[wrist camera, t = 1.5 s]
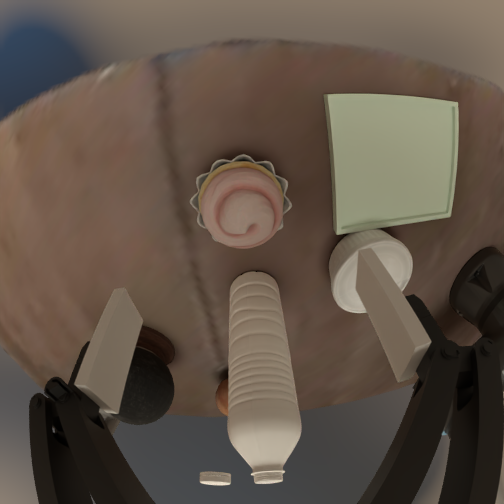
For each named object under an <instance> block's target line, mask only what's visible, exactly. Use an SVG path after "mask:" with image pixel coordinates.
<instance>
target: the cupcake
mask: <svg viewBox="0 0 504 504" xmlns="http://www.w3.org/2000/svg"><path fill="white" fill-rule="evenodd" d="M196 185H197V189H198V192H197V193H196V194H195V195H194V196H193V197H192V198H191V200H190V204H191V205H192V206H193V207H194V208H195V210H196V211H197V212H198V217H197V222H198V224H199V225H200V226H201V227H202V228H205V229H208V231H209V232H210V233H211V235H212V237H213V239H214V241H218V242H220V243H223V244H225V245H227V246H230V247H234V248H251V247H255V246H258V245H261V244H263V243H265V242H266V241H267V240H269V239H270V238H271V237H272V236H273V235H274V234H275V233H276V231H277V230H280V229H282V228H283V215H284V214H285V213H286V212H287V211H288V210H289V209H290V208H291V207H292V204H291V202H290V201H289V199H288V198H287V197H286V195H285V193H286V190H287V187H288V181H286V180H285V179H284V178H282V177H280V176H277V175H275V171H274V167H273V165H272V163H271V162H269V161H260V162H255V161H254V160H253V159H252V158H251V157H250V156H247V155H245V154H243V155H239V156H237V157H236V158H234V159H233V160H231V161H229V160H224V159H221V160H218V161H216V162H215V163H214V164H213V165H212V167H211V170H210V172H208V173H205V174H202V175H200V176H199V177H197V179H196Z"/></svg>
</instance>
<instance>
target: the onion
mask: <svg viewBox="0 0 504 504" xmlns="http://www.w3.org/2000/svg"><path fill="white" fill-rule="evenodd" d="M228 384H229V382H228V379H226V380H223V381H222V382H221V383H220V385H219V386H218V389H217V391H216V396H215V399H216V404H217V406H218V408H219V410H220V411H221V412H222V413H224V414H225V415H227V416H228V413H229V411H228V405H229V404H228V398H229V397H228V391H229V389H228Z"/></svg>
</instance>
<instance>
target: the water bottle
mask: <svg viewBox="0 0 504 504" xmlns="http://www.w3.org/2000/svg"><path fill="white" fill-rule="evenodd" d="M228 363H229V372H228V374H229V378H228V382H229V384H228V389H229V391H228V397H229V398H228V404H229V405H228V411H229V413H228V435H229V438H230V441H231V443H232V445H233V446H234V447H235V448H236V450H237V451H238V452H239V453H240V455H241V456H242V457H243V458H244V459H245V461H246V462H247V463H248V464H249V465H250V466H251V468H252V469H253V473H252V474H251V475H254V479H255V480H254V481H255V483H258V484H268V483H276V482H281V481H283V479H282V478H283V477H282V476H283V475H282V473H284V472H285V471H283V465H284V464H285V462H286V460H287V459H288V457H289V456H290V454H291V452H292V451H293V449H294V447H295V446H296V444H297V442H298V440H299V438H300V435H301V418H300V414H299V409H298V402H297V395H296V389H295V385H294V379H293V372H292V366H291V357H290V351H289V347H288V339H287V335H286V328H285V323H284V316H283V311H282V305H281V300H280V293H279V288H278V284H277V282H276V281H275V279H274V278H273V277H271V276H270V275H268V274H266V273H263V272H255V271H252V272H247V273H244V274H243V275H240V276H238V277H237V278H236V279H235V280H234V281H233V283H232V285H231V288H230V316H229V355H228ZM205 474H208V475H205ZM210 474H212V475H210ZM219 475H225V476H219ZM200 482H201V483H203V484H210V485H229V484H231V475H230V474H228V473H222V472H200Z"/></svg>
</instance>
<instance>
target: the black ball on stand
mask: <svg viewBox="0 0 504 504" xmlns="http://www.w3.org/2000/svg"><path fill="white" fill-rule="evenodd" d="M174 354H175V349H174V347H173V344H172V343H171V342H170V340H169V339H168V338H167V337H165V336H164V335H163V334H161V333H159V332H158V331H156V330H154V329H151V328H149V327H145V326H141V330H140V333H139V336H138V339H137V343H136V346H135V350H134V353H133V357H132V360H131V364H130V368H129V372H128V375H127V379H126V383H125V387H124V391H123V395H122V400H121V404H120V408H119V413H118V414H114V413H109V414H111V415H112V416H113V417H115V418H116V419H118V420H120V421H122V422H126V423H129V424H134V425H142V424H148V423H152V422H154V421H156V420H158V419H159V418H161V417H162V416H163V415H164V414H165V413H166V412H167V411H168V409H169V408H170V406H171V404H172V401H173V397H174V383H173V378H172V375H171V373H170V371H169V369H168V367H167V366H166V365H168V364H169V363H171V362H172V360H173V358H174Z"/></svg>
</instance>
